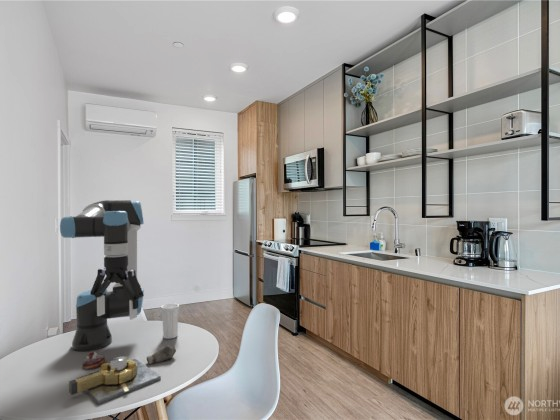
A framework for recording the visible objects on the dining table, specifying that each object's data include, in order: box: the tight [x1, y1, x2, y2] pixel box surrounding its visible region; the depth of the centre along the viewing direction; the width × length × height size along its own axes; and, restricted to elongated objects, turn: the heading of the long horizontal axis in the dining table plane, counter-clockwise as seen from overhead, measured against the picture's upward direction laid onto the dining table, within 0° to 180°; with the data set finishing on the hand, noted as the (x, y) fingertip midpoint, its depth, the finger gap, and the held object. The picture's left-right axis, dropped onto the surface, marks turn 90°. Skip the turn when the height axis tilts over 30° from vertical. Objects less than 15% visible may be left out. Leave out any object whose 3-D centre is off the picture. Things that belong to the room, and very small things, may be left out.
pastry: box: [82, 350, 106, 371], centre depth 127 cm, size 8×8×5 cm
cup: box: [160, 302, 180, 340], centre depth 154 cm, size 8×8×14 cm
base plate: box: [76, 355, 162, 405], centre depth 115 cm, size 21×20×7 cm
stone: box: [146, 344, 177, 365], centre depth 130 cm, size 10×5×8 cm
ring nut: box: [68, 356, 137, 396], centre depth 112 cm, size 20×11×4 cm, turn 137°
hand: (116, 316), depth 117 cm, fingers open, 13 cm apart
